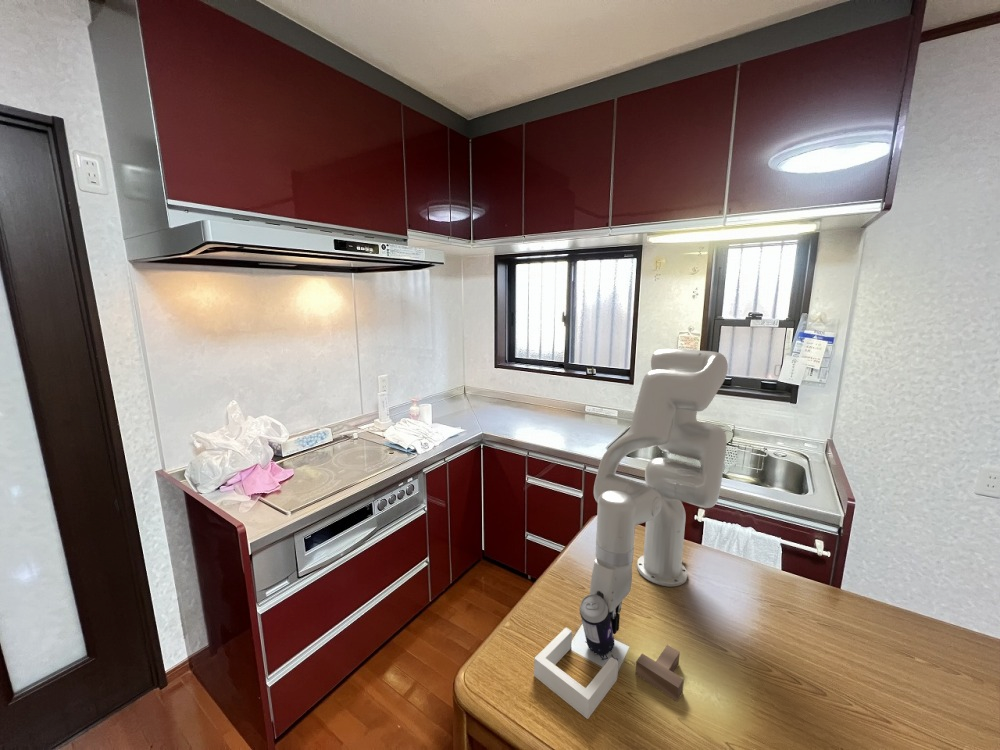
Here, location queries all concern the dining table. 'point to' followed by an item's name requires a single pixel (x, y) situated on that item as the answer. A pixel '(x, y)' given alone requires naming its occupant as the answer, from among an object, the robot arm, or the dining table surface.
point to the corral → (567, 686)
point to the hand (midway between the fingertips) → (610, 628)
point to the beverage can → (597, 624)
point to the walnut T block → (662, 672)
